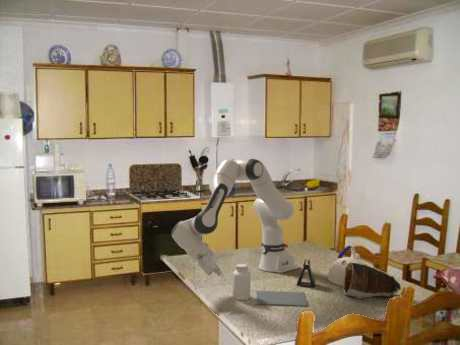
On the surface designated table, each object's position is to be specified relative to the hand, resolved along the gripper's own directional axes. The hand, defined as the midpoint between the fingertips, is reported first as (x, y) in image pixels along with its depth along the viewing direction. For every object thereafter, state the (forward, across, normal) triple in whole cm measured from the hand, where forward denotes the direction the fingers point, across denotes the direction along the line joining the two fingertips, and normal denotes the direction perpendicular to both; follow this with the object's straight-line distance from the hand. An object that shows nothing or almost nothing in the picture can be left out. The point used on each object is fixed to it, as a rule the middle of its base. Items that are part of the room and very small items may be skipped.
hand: (220, 274), depth 208 cm
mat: (+27, 0, -12) cm, 29 cm away
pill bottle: (+14, 0, +1) cm, 14 cm away
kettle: (+53, +30, -37) cm, 71 cm away
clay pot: (+57, +8, -42) cm, 72 cm away
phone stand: (+37, +21, -22) cm, 48 cm away
